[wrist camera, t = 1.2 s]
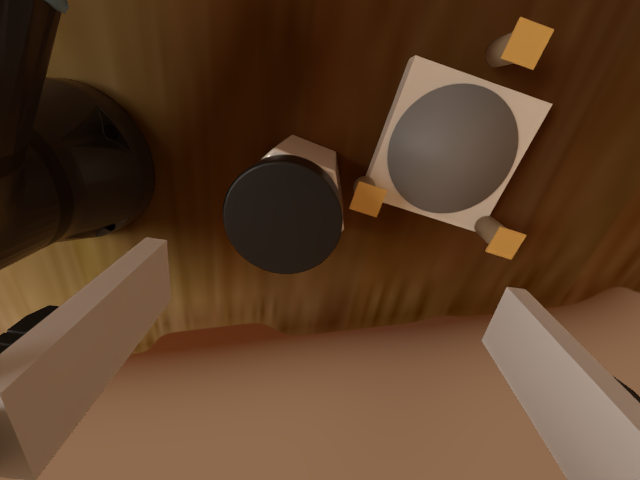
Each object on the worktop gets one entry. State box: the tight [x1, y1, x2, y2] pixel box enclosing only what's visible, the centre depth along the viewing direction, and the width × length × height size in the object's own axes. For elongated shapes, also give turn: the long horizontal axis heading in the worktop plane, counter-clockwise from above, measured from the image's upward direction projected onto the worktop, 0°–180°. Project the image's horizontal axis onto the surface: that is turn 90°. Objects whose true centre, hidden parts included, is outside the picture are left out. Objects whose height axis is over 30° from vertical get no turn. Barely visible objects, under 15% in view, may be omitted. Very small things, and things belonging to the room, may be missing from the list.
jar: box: [223, 135, 344, 274], centre depth 26 cm, size 9×8×12 cm
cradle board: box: [349, 17, 554, 259], centre depth 26 cm, size 15×16×7 cm
